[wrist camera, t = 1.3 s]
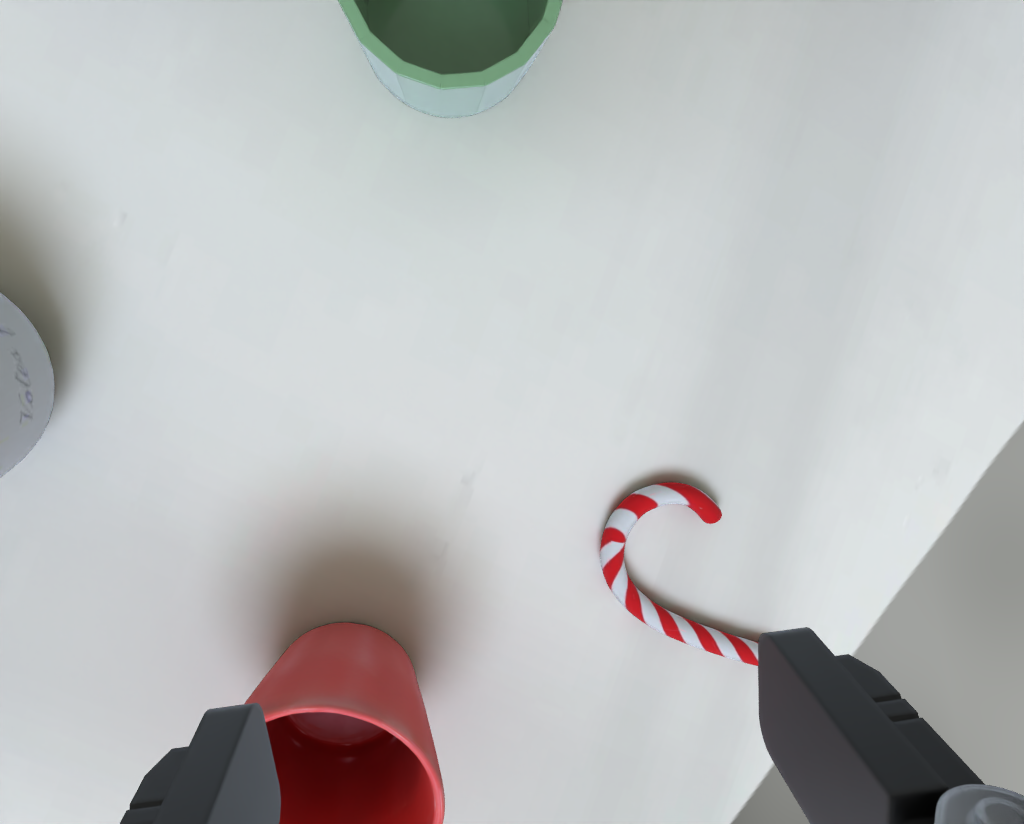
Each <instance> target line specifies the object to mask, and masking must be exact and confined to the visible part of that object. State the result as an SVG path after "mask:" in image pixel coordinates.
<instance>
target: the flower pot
mask: <svg viewBox="0 0 1024 824" xmlns="http://www.w3.org/2000/svg"><path fill="white" fill-rule="evenodd" d="M251 703H258V704H259V705H260V706H261V708H262V710H263V713H264V717H265V722H266V726H267V731H268V735H269V740H270V744H271V749H272V753H273V758H274V762H275V767H276V771H277V776H278V780H279V786H280V796H281V810H280V821H279V824H443V820H444V812H445V797H444V789H443V783H442V777H441V773H440V768H439V764H438V759H437V755H436V751H435V747H434V742H433V738H432V734H431V730H430V726H429V722H428V718H427V714H426V710H425V706H424V703H423V699H422V696H421V692H420V689H419V686H418V682H417V679H416V675H415V671H414V668H413V666H412V663H411V661H410V658H409V657H408V655H407V653H406V652H405V650H404V649H403V648H402V647H401V646H400V645H399V644H398V642H396V641H395V640H394V639H393V638H392V637H390V636H389V635H388V634H386V633H384V632H383V631H381V630H378V629H376V628H374V627H371V626H367V625H361V624H355V623H344V622H342V623H332V624H327V625H324V626H320V627H318V628H315V629H313V630H311V631H309V632H307V633H305V634H303V635H302V636H300V637H299V638H298V639H297V640H296V641H294V642H293V643H292V644H291V645H290V646H289V647H288V649H287V650H286V651H285V652H284V653H283V655H282V656H281V657H280V658H279V660H278V661H277V662H276V663H275V665H274V666H273V667H272V668H271V670H270V671H269V672H268V673H267V675H266V676H265V677H264V678H263V680H262V681H261V682H260V684H259V685H258V686H257V688H256V689H255V690H254V692H253V693H252V694H251V696H250V697H249V698H248V700H247V701H246V702H245V704H251Z"/></svg>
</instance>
